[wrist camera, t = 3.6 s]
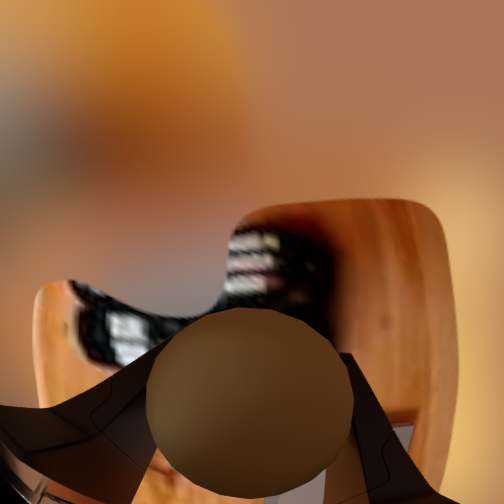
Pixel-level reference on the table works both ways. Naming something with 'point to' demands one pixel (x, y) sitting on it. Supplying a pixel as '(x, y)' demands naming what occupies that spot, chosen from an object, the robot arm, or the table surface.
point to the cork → (249, 403)
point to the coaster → (312, 493)
